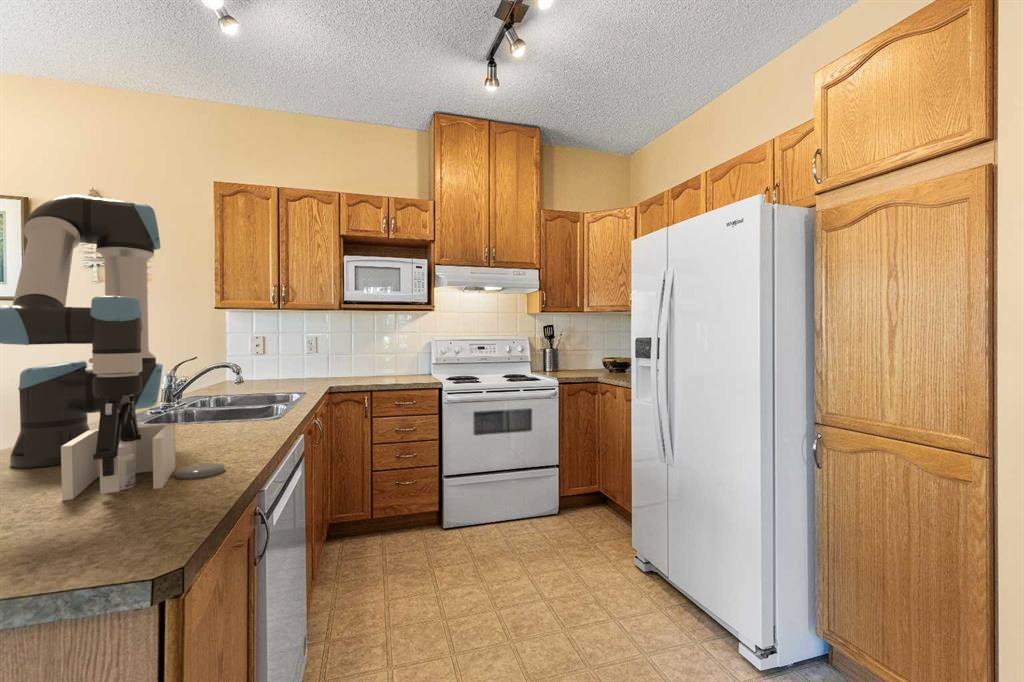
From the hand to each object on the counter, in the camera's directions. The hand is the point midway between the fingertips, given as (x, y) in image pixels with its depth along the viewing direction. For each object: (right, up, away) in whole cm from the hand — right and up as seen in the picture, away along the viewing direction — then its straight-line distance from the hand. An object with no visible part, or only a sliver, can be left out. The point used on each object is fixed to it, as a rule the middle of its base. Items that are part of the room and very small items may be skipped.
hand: (119, 481), depth 94 cm
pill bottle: (0, -1, 0) cm, 1 cm away
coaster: (+10, -1, +10) cm, 14 cm away
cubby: (-2, -1, +4) cm, 4 cm away
